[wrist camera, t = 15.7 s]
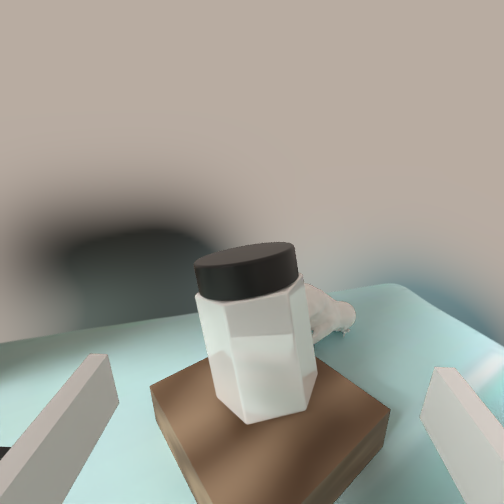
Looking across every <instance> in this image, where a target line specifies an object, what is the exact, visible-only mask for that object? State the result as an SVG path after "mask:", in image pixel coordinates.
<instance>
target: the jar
mask: <svg viewBox="0 0 504 504" xmlns="http://www.w3.org/2000/svg"><path fill="white" fill-rule="evenodd" d="M194 270H195V275H196V279H197V284H198V288H199V293H197V294H196V295H195V299H196V303H197V308H198V313H199V318H200V322H201V327H202V331H203V336H204V341H205V345H206V350H207V355H208V359H209V364H210V368H211V373H212V378H213V382H214V387H215V391H216V396H217V398H218V399H219V400H220V401H221V402H223V403H224V404H225V405H226V406H227V407H228V408H229V409H230V410H231V411H232V412H233V413H234V414H236V415H237V416H238V417H239V418H240V419H241V420H242V421H243V422H244V423H245V424H247V425H248V424H253V423H257V422H261V421H265V420H269V419H273V418H278V417H282V416H286V415H290V414H294V413H298V412H302V411H305V410H306V409H307V406H308V403H309V400H310V397H311V394H312V390H313V387H314V384H315V381H316V378H317V374H318V372H317V365H316V359H315V352H314V346H313V339H312V332H311V326H310V319H309V313H308V306H307V299H306V293H305V286H304V280H303V275H302V274H301V273H298V267H297V260H296V254H295V248H294V245H292V244H291V243H286V242H273V243H272V242H271V243H261V244H253V245H246V246H241V247H236V248H231V249H227V250H223V251H219V252H216V253H212V254H209V255H206V256H204V257H202V258H200V259H198V260H196V261H195V263H194Z"/></svg>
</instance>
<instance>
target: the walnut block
mask: <svg viewBox="0 0 504 504" xmlns="http://www.w3.org/2000/svg"><path fill="white" fill-rule="evenodd" d="M315 359H316V365H317V372H318V374H317V378H316V381H315V384H314V387H313V390H312V394H311V397H310V400H309V403H308V406H307V409H306V410H305V411H302V412H298V413H294V414H290V415H286V416H282V417H278V418H273V419H269V420H265V421H261V422H257V423H253V424H248V425H247V424H245V423H244V422H243V421H242V420H241V419H240V418H239V417H238V416H237V415H236V414H234V413H233V412H232V411H231V410H230V409H229V408H228V407H227V406H226V405H225V404H224V403H223V402H221V401H220V400H219V399H218V398H217V396H216V391H215V387H214V382H213V378H212V373H211V368H210V364H209V359H208V357H207V358H205V359H203V360H201V361H199V362H197V363H195V364H193V365H191V366H189V367H187V368H185V369H183V370H181V371H179V372H177V373H175V374H173V375H171V376H169V377H167V378H165V379H163V380H161V381H159V382H157V383H155V384H153V385H151V386H150V391H151V396H152V401H153V407H154V412H155V417H156V421H157V423H158V425H159V427H160V429H161V431H162V433H163V435H164V437H165V439H166V441H167V443H168V445H169V448H170V450H171V452H172V454H173V456H174V458H175V460H176V462H177V464H178V466H179V468H180V470H181V472H182V474H183V476H184V478H185V480H186V482H187V484H188V486H189V488H190V490H191V492H192V494H193V496H194V498H195V500H196V502H197V504H333V503H334V502H335V501H336V500H337V499H338V497H339V496H340V495H341V494H342V493H343V492H344V491H345V489H346V488H347V487H348V486H349V485H350V484H351V482H352V481H353V480H354V479H355V478H356V477H357V476H358V474H359V473H360V472H361V471H362V470H363V469H364V468H365V466H366V465H367V464H368V463H369V462H370V461H371V459H372V458H373V457H374V456H375V455H376V454H377V453H378V451H379V450H380V449H381V448H382V447H383V443H384V438H385V434H386V429H387V424H388V420H389V415H390V409H389V408H388V407H386V406H385V405H383V404H382V403H381V402H379V401H378V400H376V399H375V398H374V397H372V396H371V395H369V394H368V393H366V392H365V391H364V390H362V389H361V388H359V387H358V386H357V385H355V384H354V383H352V382H351V381H350V380H348V379H347V378H345V377H344V376H342V375H341V374H340V373H338V372H337V371H335V370H334V369H333V368H331V367H330V366H328V365H327V364H325V363H324V362H323V361H321V360H320V359H318V358H317V357H316V356H315Z"/></svg>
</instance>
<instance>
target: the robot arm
mask: <svg viewBox="0 0 504 504" xmlns="http://www.w3.org/2000/svg"><path fill="white" fill-rule="evenodd" d="M118 404H119V399H118V395H117V391H116V387H115V383H114V378H113V374H112V370H111V366H110V362H109V357H108V354H89V355H88V356H87V358H86V359H85V360H84V361H83V362H82V363H81V365H80V366H79V367H78V368H77V369H76V371H75V372H74V373H73V374H72V375H71V377H70V378H69V379H68V380H67V381H66V383H65V384H64V385H63V386H62V387H61V389H60V390H59V391H58V392H57V393H56V395H55V396H54V397H53V398H52V399H51V401H50V402H49V403H48V404H47V405H46V407H45V408H44V409H43V410H42V411H41V413H40V414H39V415H38V416H37V417H36V418H35V420H34V421H33V422H32V423H31V424H30V426H29V427H28V428H27V429H26V430H25V432H24V433H23V434H22V435H21V436H20V438H19V439H18V440H17V441H16V442H15V444H14V445H13V446H12V447H0V504H62V503H63V501H64V500H65V498H66V496H67V494H68V493H69V491H70V489H71V487H72V485H73V484H74V482H75V480H76V478H77V477H78V475H79V473H80V471H81V470H82V468H83V466H84V464H85V463H86V461H87V459H88V457H89V456H90V454H91V452H92V450H93V448H94V447H95V445H96V443H97V441H98V440H99V438H100V436H101V434H102V433H103V431H104V429H105V427H106V426H107V424H108V422H109V420H110V419H111V417H112V415H113V413H114V411H115V410H116V408H117V406H118ZM419 418H420V420H421V421H422V423H423V425H424V427H425V429H426V431H427V433H428V434H429V436H430V438H431V440H432V442H433V444H434V445H435V447H436V449H437V451H438V453H439V455H440V457H441V458H442V460H443V462H444V464H445V466H446V468H447V470H448V471H449V473H450V475H451V477H452V479H453V481H454V483H455V484H456V486H457V488H458V490H459V492H460V494H461V495H462V497H463V499H464V501H465V503H466V504H504V427H503V426H502V425H501V424H500V423H499V421H498V420H497V419H496V418H495V416H494V415H493V414H492V413H491V411H490V410H489V409H488V408H487V407H486V405H485V404H484V403H483V402H482V400H481V399H480V398H479V397H478V395H477V394H476V393H475V392H474V391H473V389H472V388H471V387H470V386H469V384H468V383H467V382H466V381H465V380H464V378H463V377H462V376H461V375H460V373H459V372H458V371H457V370H456V368H448V367H434V371H433V374H432V377H431V381H430V384H429V387H428V391H427V394H426V397H425V400H424V404H423V407H422V410H421V414H420V417H419Z"/></svg>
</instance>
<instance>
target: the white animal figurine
mask: <svg viewBox="0 0 504 504" xmlns="http://www.w3.org/2000/svg"><path fill="white" fill-rule="evenodd" d="M304 286H305V293H306V299H307V306H308V313H309V319H310V326H311V331H313V334H312V339H313V345H314V344H315V343H317V342H319V341H320V340H321V339H323V338H324V337H326V336H327V335H329V334H330V333H331V332H332V331H334V330H335V331H337V332H338V331H341V332H343V333H344V335H345V334H346V332H348V331H350V329H348V328H349V327H350V326H352V325H353V324H354V322H355V319H356V313H355V310H354V308H353V307H352V305H350V304H349V303H347V302H342V301H336V300H334V299H332V298H331V297H330V296H329V295H327V294H326V293H324V292H323V291H322V290H320V289H318V288H315V287H314V286H312V285H310V284H306V283H304ZM343 333H342V334H343ZM343 338H344V336H343Z"/></svg>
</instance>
